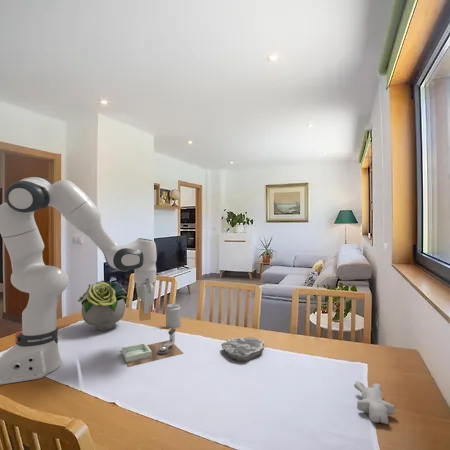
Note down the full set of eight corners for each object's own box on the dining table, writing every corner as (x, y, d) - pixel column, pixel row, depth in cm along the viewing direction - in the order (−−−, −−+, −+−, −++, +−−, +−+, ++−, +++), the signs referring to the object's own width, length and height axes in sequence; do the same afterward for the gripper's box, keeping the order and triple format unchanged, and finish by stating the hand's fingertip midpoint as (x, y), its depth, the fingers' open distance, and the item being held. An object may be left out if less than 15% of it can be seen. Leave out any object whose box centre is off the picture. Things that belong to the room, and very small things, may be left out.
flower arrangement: (78, 324, 159) (77, 279, 159) (126, 317, 170) (126, 275, 170) (76, 340, 137) (76, 288, 137) (132, 331, 147) (131, 283, 147)
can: (173, 331, 147) (172, 307, 147) (163, 328, 152) (162, 305, 152) (183, 327, 153) (183, 304, 153) (173, 324, 158) (173, 302, 158)
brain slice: (235, 340, 136) (235, 334, 136) (269, 348, 128) (269, 341, 128) (212, 357, 119) (212, 349, 119) (250, 367, 111) (250, 359, 111)
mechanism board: (127, 371, 108) (127, 364, 108) (119, 354, 122) (119, 348, 122) (183, 357, 119) (183, 350, 119) (170, 343, 133) (170, 337, 133)
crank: (164, 352, 118) (164, 338, 118) (157, 351, 119) (157, 337, 119) (177, 341, 128) (177, 328, 128) (171, 340, 129) (171, 328, 129)
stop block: (150, 319, 120) (150, 302, 120) (140, 320, 119) (140, 303, 119) (148, 316, 124) (149, 300, 124) (139, 318, 122) (139, 301, 122)
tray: (126, 363, 111) (126, 356, 111) (121, 353, 119) (121, 347, 119) (151, 357, 116) (151, 351, 116) (145, 348, 124) (145, 342, 124)
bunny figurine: (361, 409, 79) (350, 374, 93) (360, 426, 79) (350, 389, 94) (400, 414, 76) (383, 378, 91) (399, 432, 77) (383, 393, 91)
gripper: (158, 281, 113) (157, 317, 113) (148, 273, 132) (148, 304, 132) (141, 282, 111) (141, 318, 110) (134, 274, 129) (133, 306, 129)
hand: (144, 311), depth 121 cm, fingers closed on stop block, 4 cm apart
